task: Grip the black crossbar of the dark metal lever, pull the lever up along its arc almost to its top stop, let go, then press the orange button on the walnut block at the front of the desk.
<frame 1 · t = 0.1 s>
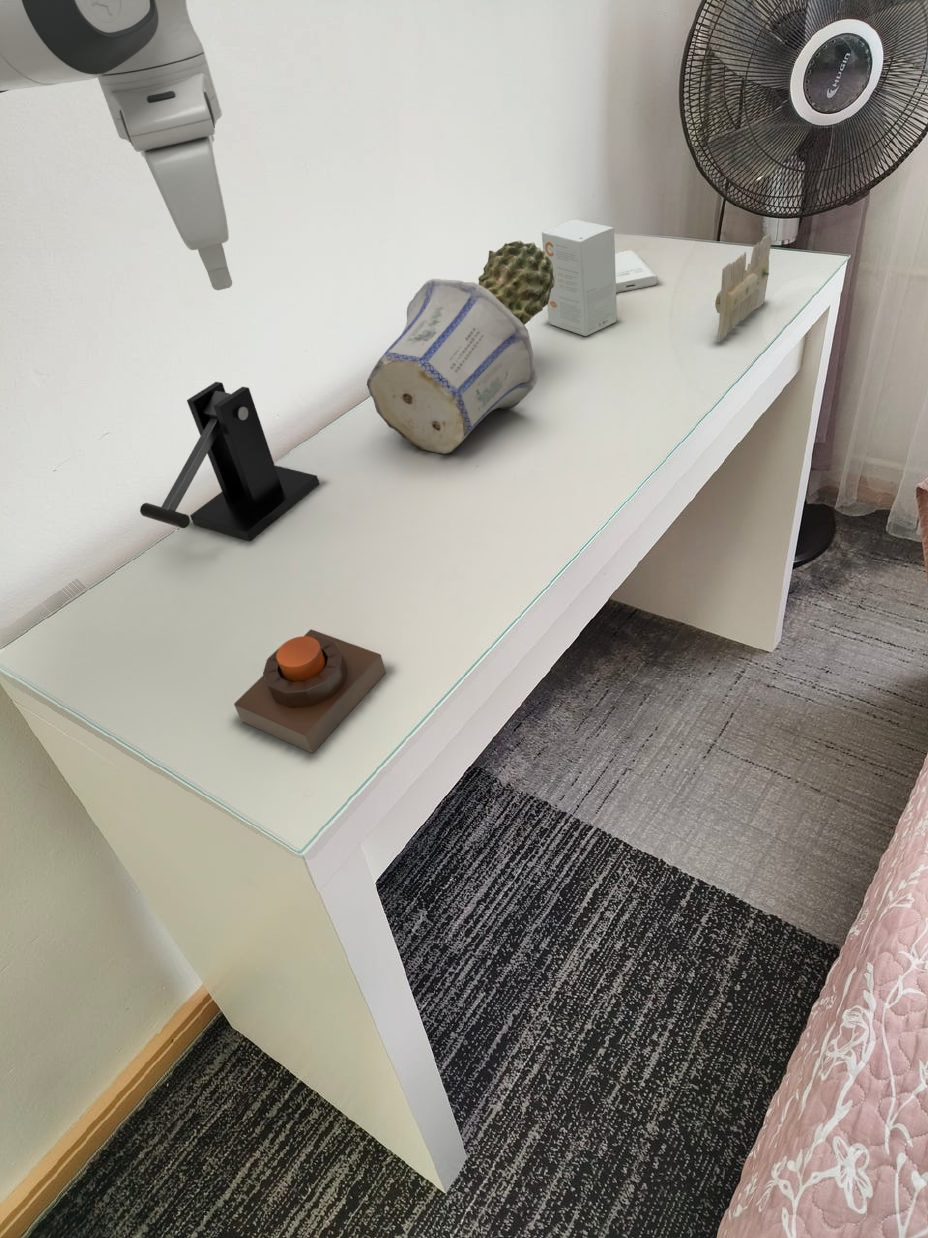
hand: (218, 271, 80), 26 cm above the table, tool pointing down, fingers open, 8 cm apart
button block: (315, 696, 72), on the table
bracket: (257, 503, 98), on the table
lever: (196, 458, 88), point 9 cm above the table, hinge at -28.0°
wooden plank panel: (741, 324, 115), on the table
small box: (582, 324, 123), on the table
potted plant: (488, 405, 108), on the table
button: (300, 658, 69), point 5 cm above the table, slide at 0.2 cm
hard drive: (619, 277, 134), on the table
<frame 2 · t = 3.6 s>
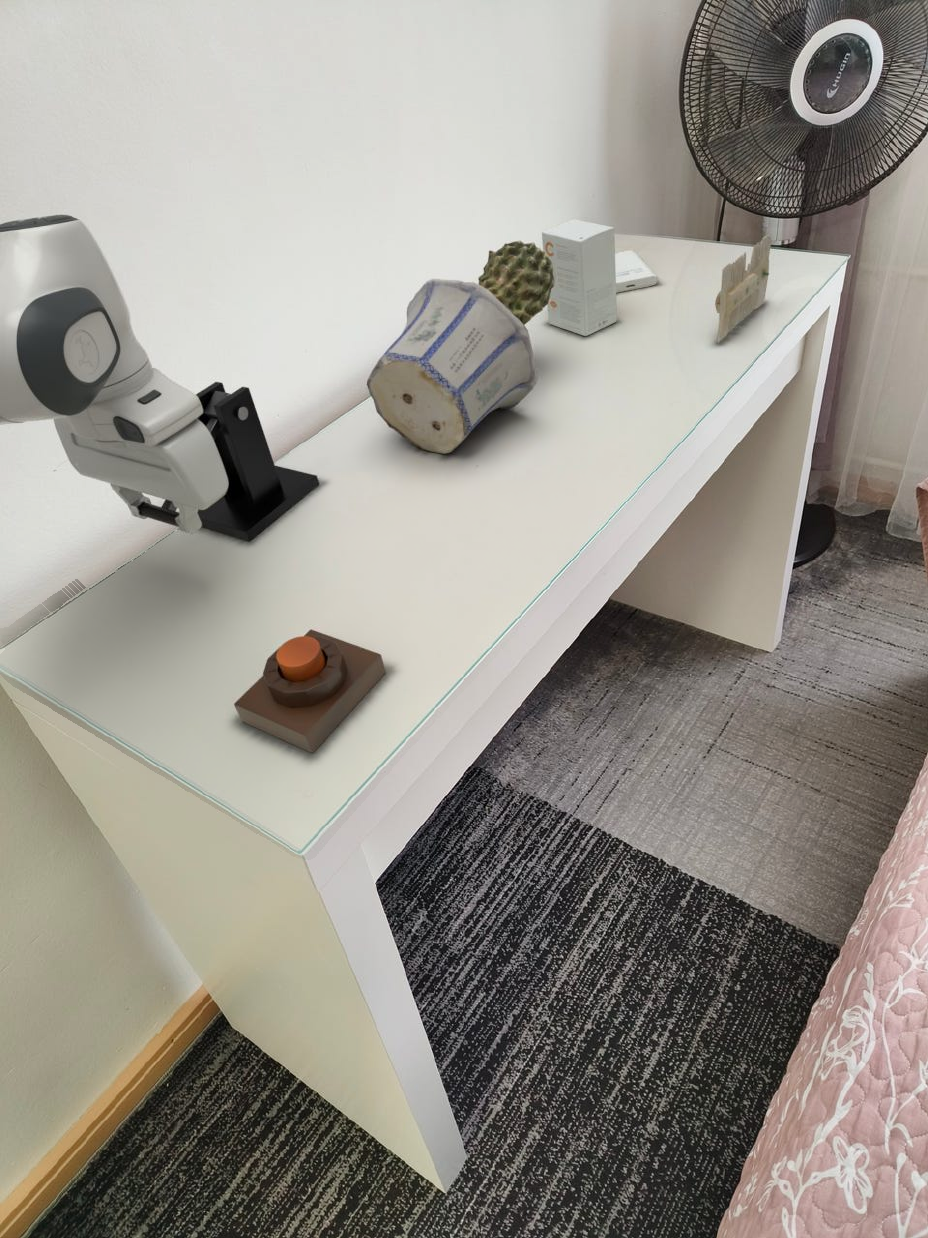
hand: (168, 522, 87), 5 cm above the table, tool pointing down, fingers closed on lever, 6 cm apart
lever: (196, 458, 88), point 9 cm above the table, hinge at -28.1°, touching gripper
everything else where it was.
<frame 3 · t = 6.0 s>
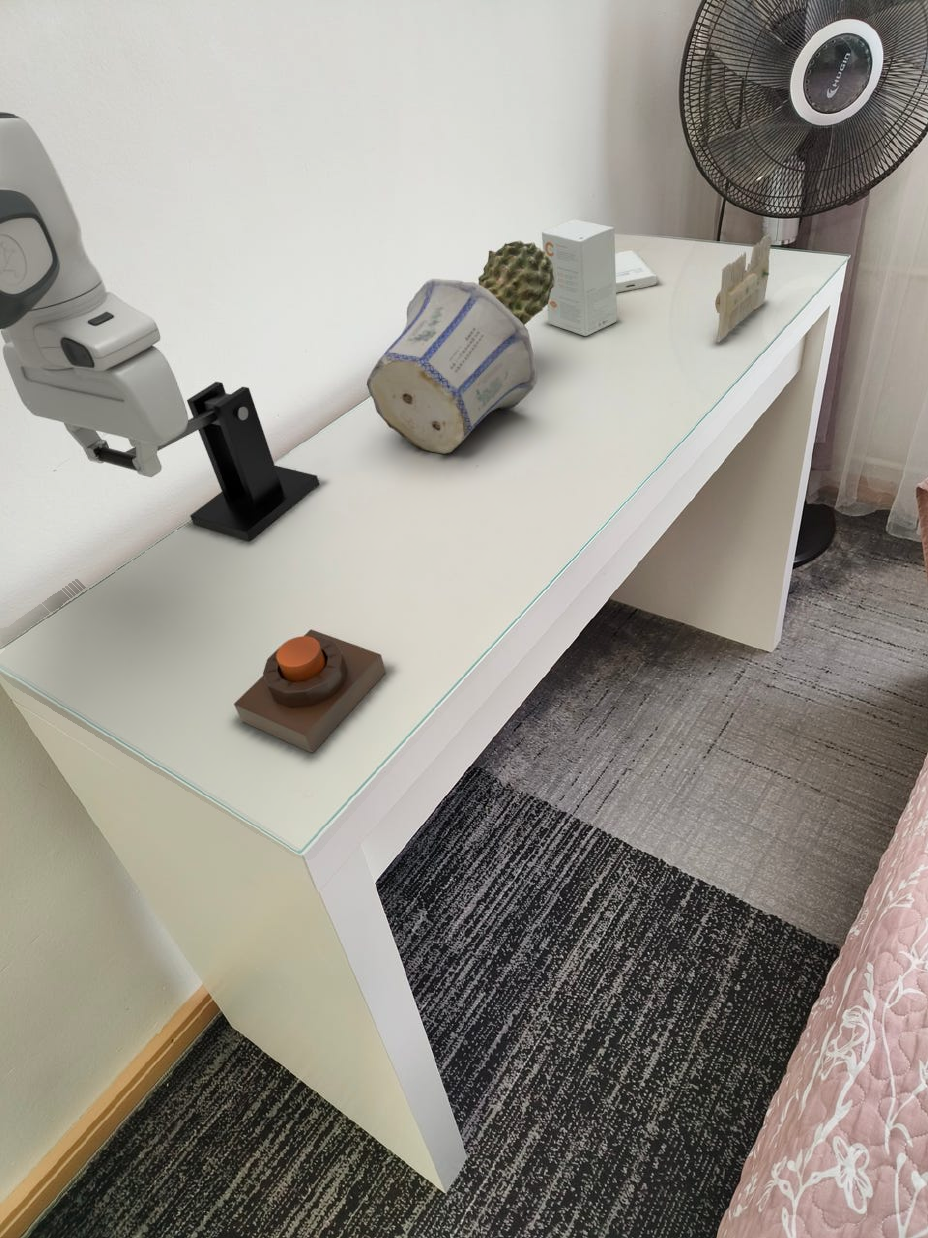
hand: (126, 466, 82), 13 cm above the table, tool pointing down, fingers closed on lever, 6 cm apart
lever: (179, 432, 86), point 13 cm above the table, hinge at 5.7°, touching gripper
everything else where it was.
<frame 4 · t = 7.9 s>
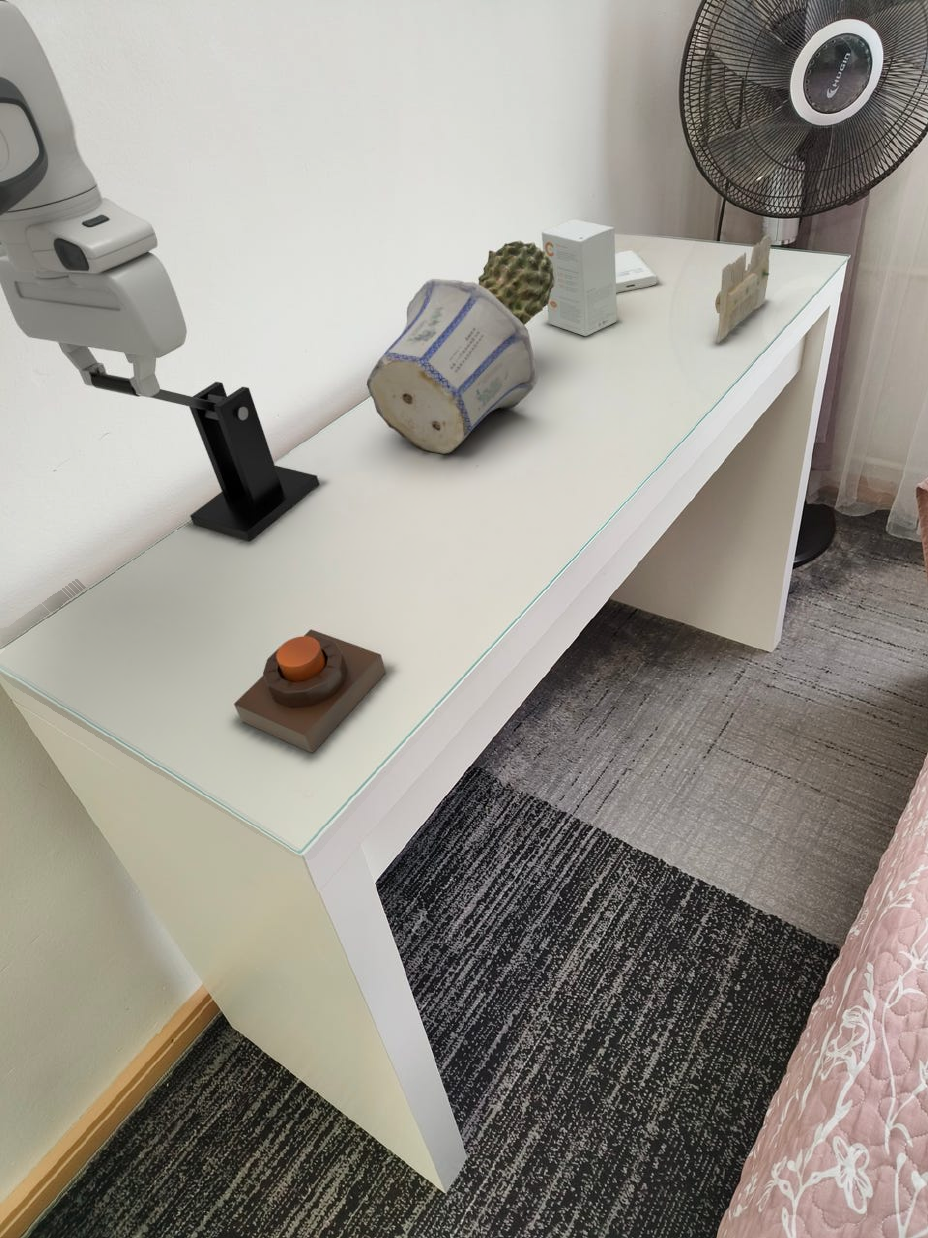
hand: (123, 389, 79), 19 cm above the table, tool pointing down, fingers closed on lever, 6 cm apart
lever: (176, 398, 84), point 16 cm above the table, hinge at 37.3°, touching gripper
everything else where it was.
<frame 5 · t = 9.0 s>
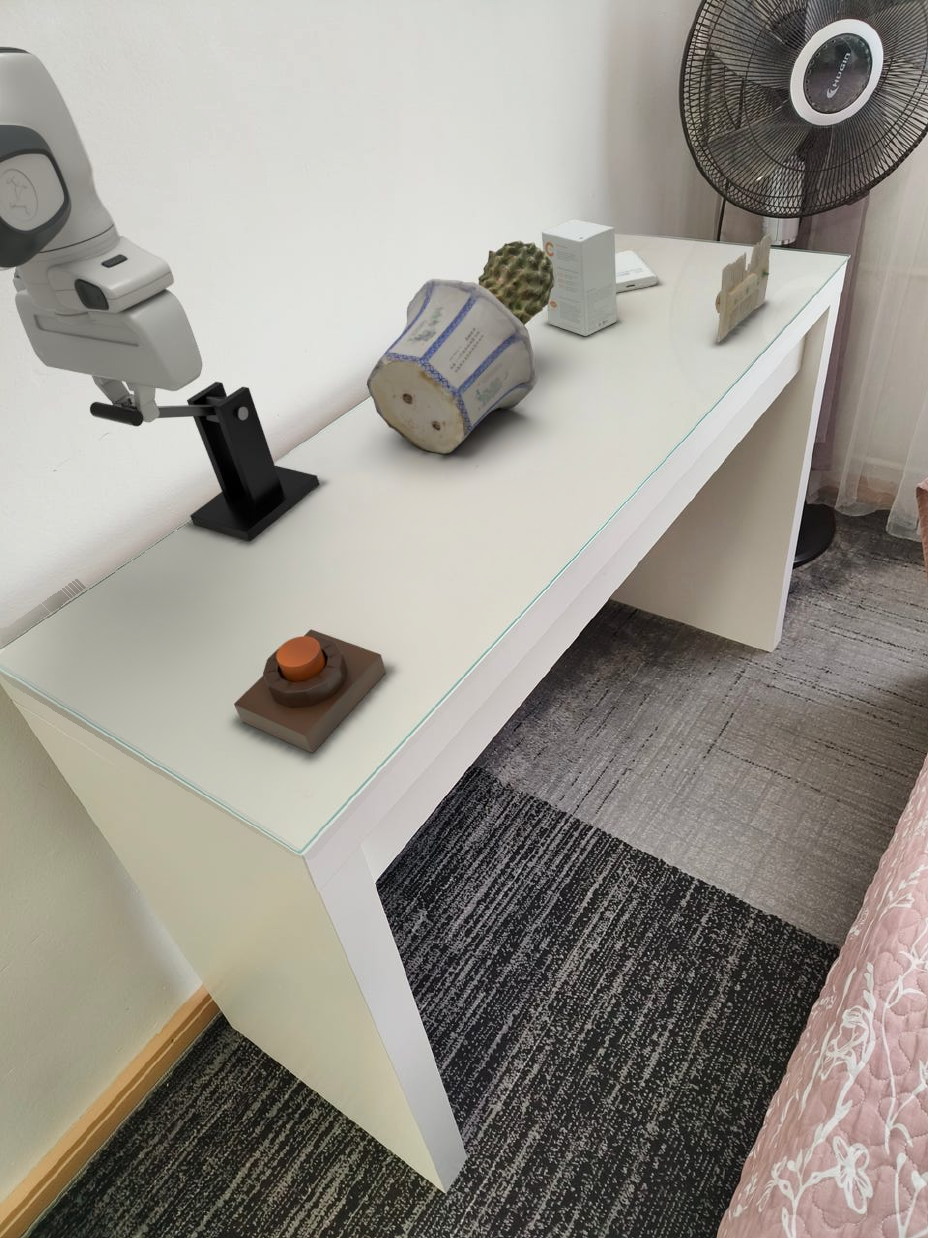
hand: (139, 416, 81), 16 cm above the table, tool pointing down, fingers closed
lever: (175, 411, 85), point 15 cm above the table, hinge at 25.4°
everything else where it was.
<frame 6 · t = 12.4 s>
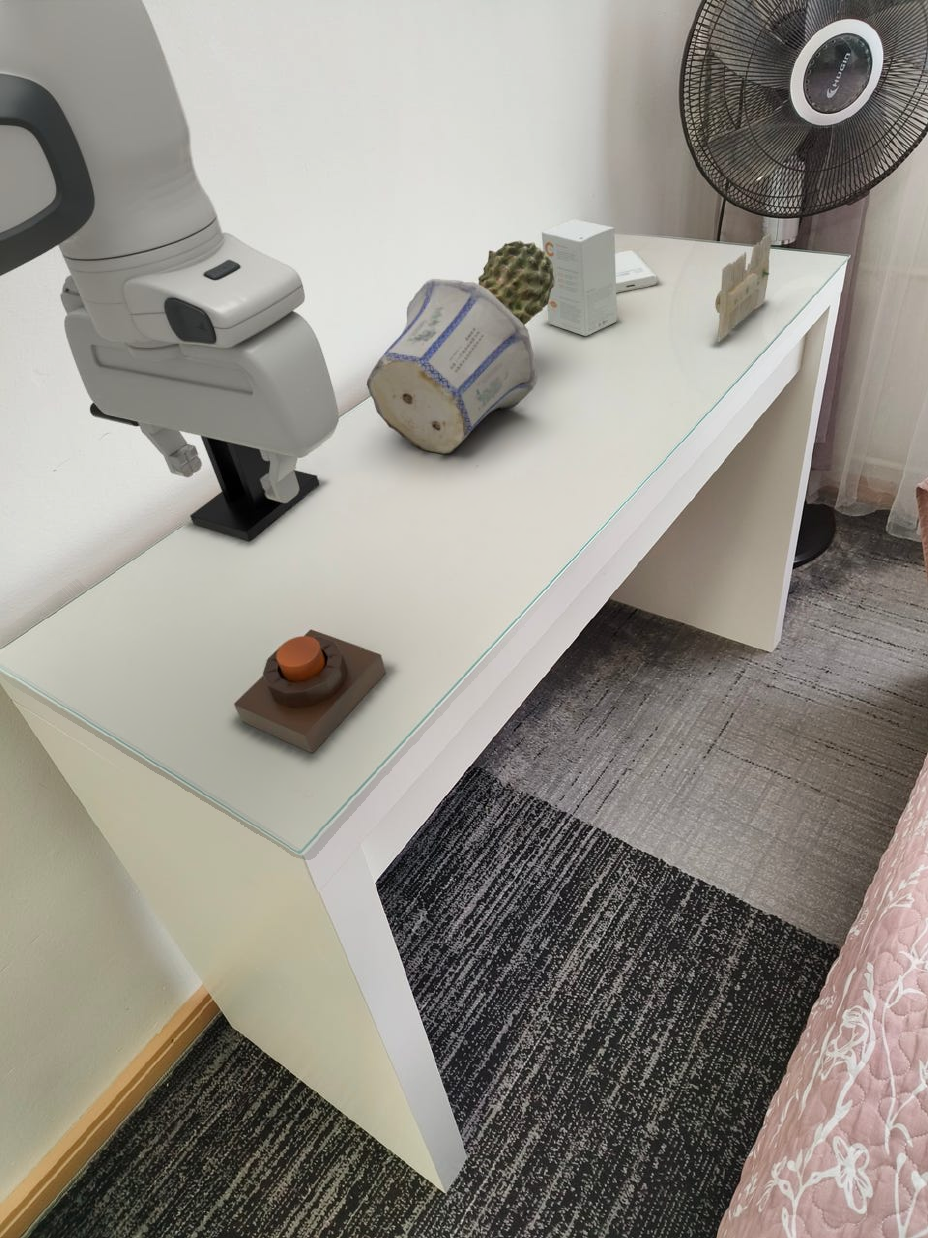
hand: (234, 483, 59), 21 cm above the table, tool pointing down, fingers open, 8 cm apart
nothing on the table moved.
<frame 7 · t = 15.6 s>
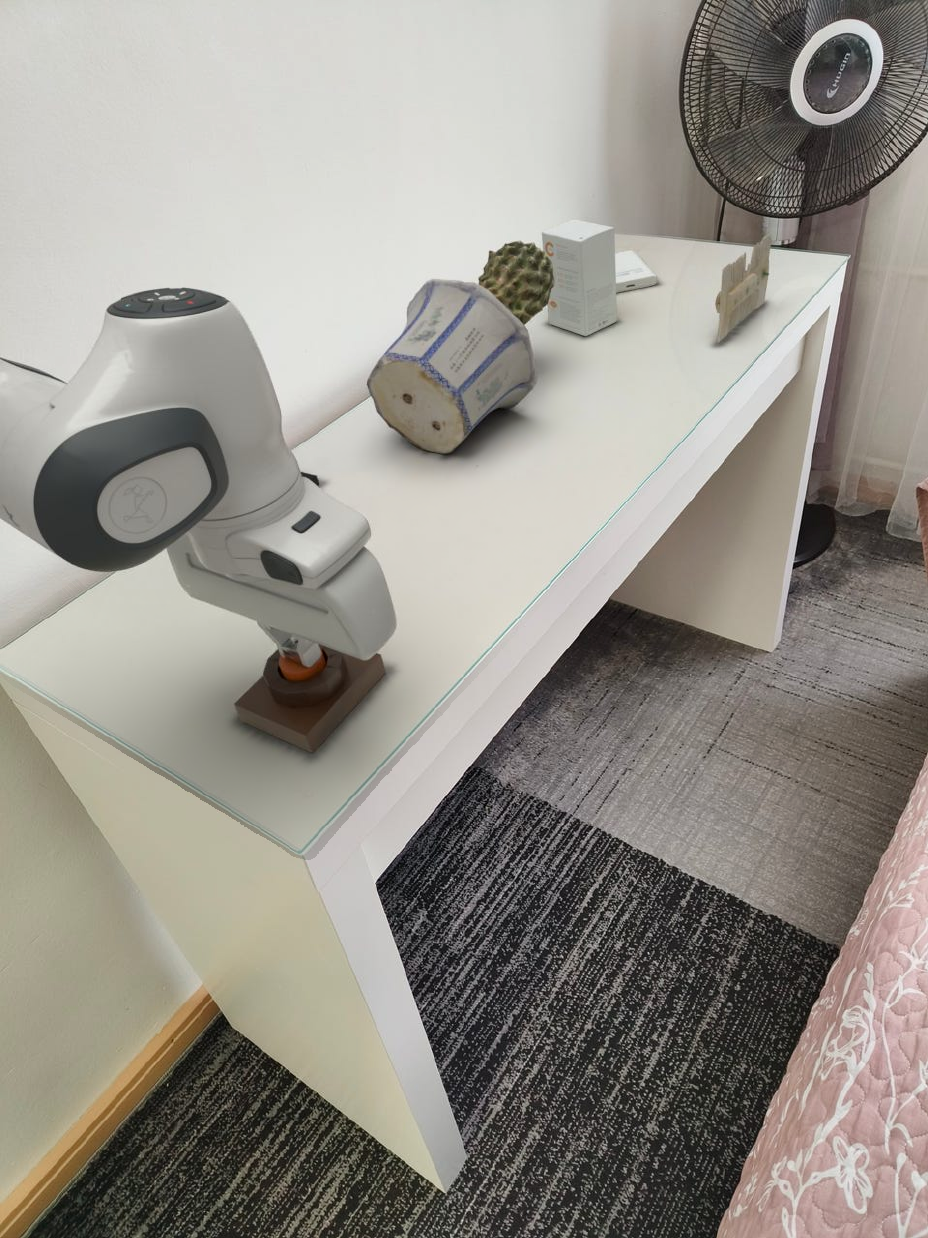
hand: (302, 657, 69), 5 cm above the table, tool pointing down, fingers closed, pressing on button
button: (303, 665, 70), point 4 cm above the table, slide at -0.6 cm, touching gripper
everything else where it was.
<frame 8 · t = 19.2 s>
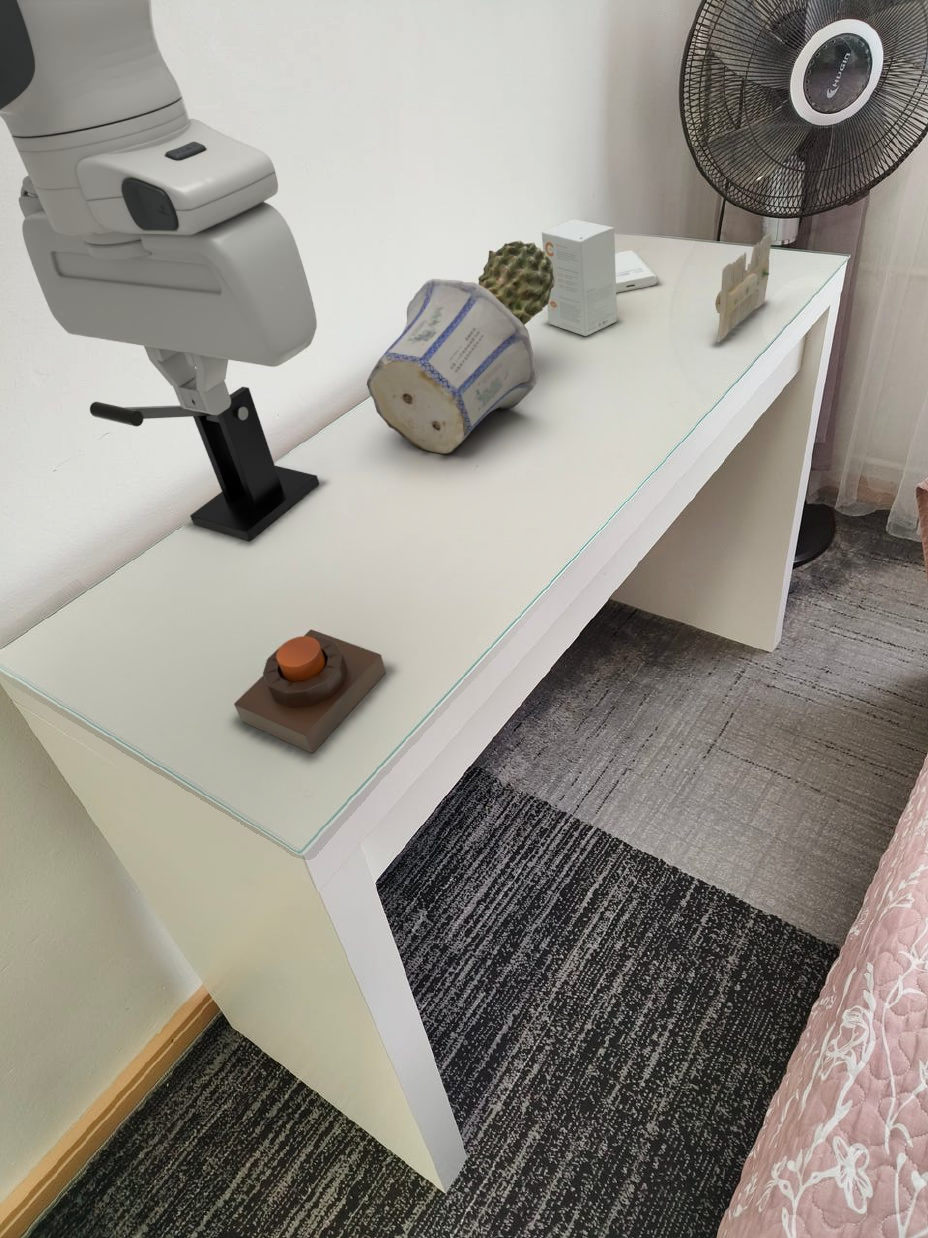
hand: (207, 408, 55), 27 cm above the table, tool pointing down, fingers closed
button: (300, 658, 69), point 5 cm above the table, slide at 0.2 cm
everything else where it was.
at the end: lever at +25° (first picture: -28°); button pushed in 1.0 cm at the most during the clip, back to 0.2 cm at the end; button slide at 0.2 cm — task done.
